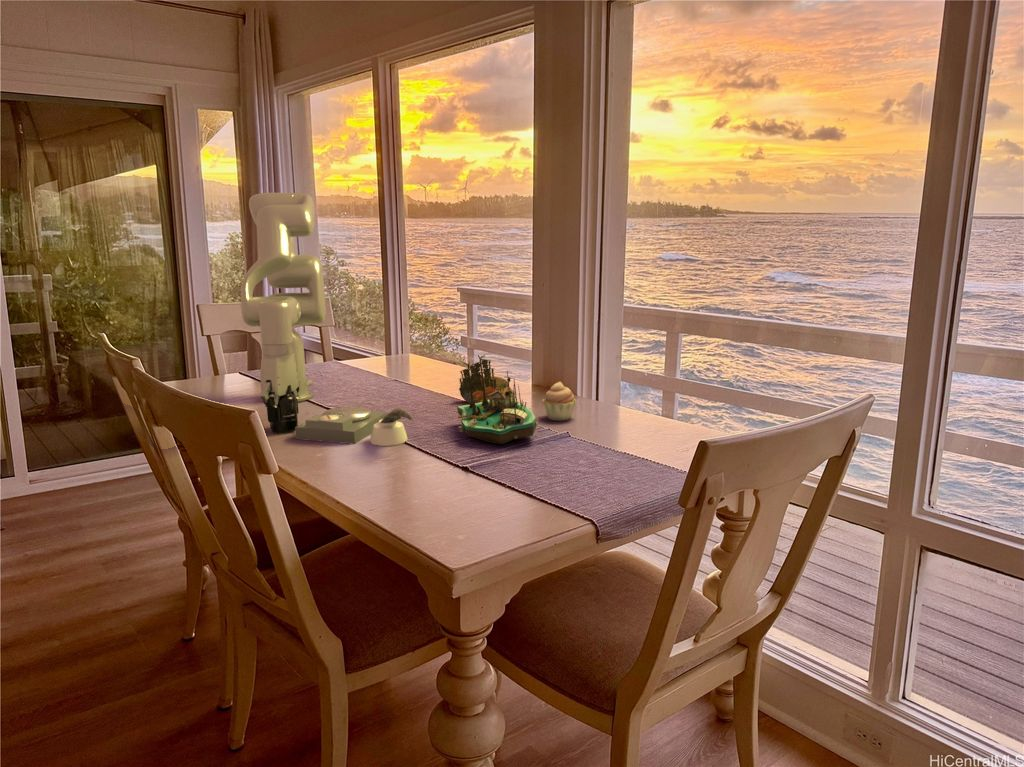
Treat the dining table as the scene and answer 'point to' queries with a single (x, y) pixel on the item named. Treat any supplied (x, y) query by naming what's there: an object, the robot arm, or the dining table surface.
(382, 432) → the inkwell
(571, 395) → the cupcake
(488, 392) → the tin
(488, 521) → the dining table surface
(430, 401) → the dining table surface
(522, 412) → the diorama
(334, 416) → the scale
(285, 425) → the supplement bottle
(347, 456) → the dining table surface
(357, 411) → the scale pan
